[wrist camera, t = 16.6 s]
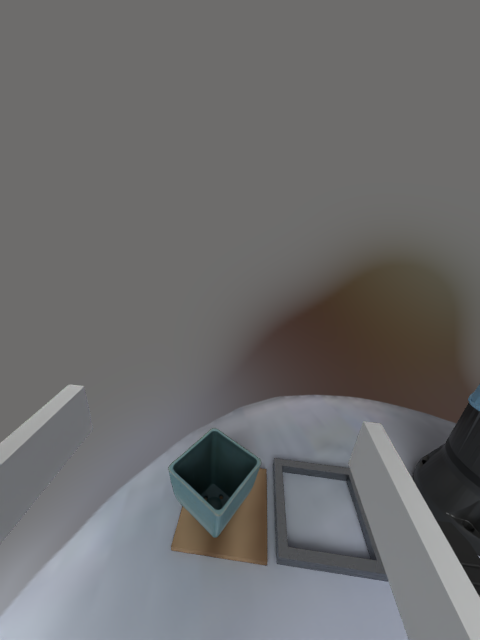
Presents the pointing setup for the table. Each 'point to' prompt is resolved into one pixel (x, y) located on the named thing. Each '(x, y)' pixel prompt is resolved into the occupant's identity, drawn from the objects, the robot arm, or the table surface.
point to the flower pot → (214, 479)
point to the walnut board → (230, 530)
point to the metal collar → (315, 558)
